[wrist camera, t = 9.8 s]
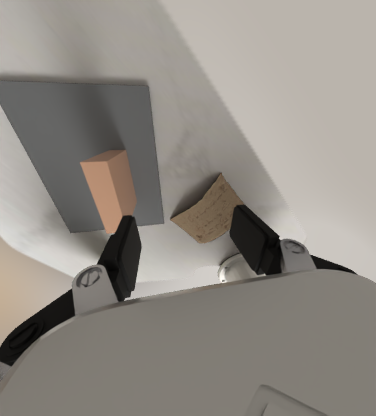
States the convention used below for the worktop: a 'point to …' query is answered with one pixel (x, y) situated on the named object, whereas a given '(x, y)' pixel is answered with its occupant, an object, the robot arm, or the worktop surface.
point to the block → (111, 186)
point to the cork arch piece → (210, 213)
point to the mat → (85, 142)
